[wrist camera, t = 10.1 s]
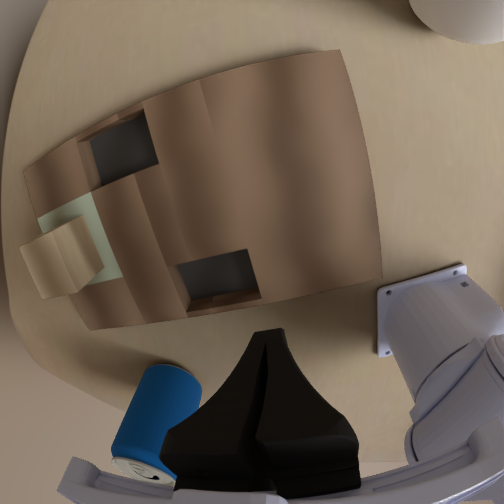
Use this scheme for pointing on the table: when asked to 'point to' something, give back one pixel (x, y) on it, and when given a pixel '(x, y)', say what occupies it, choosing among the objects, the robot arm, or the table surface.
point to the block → (62, 259)
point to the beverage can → (154, 422)
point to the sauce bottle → (463, 19)
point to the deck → (219, 194)
